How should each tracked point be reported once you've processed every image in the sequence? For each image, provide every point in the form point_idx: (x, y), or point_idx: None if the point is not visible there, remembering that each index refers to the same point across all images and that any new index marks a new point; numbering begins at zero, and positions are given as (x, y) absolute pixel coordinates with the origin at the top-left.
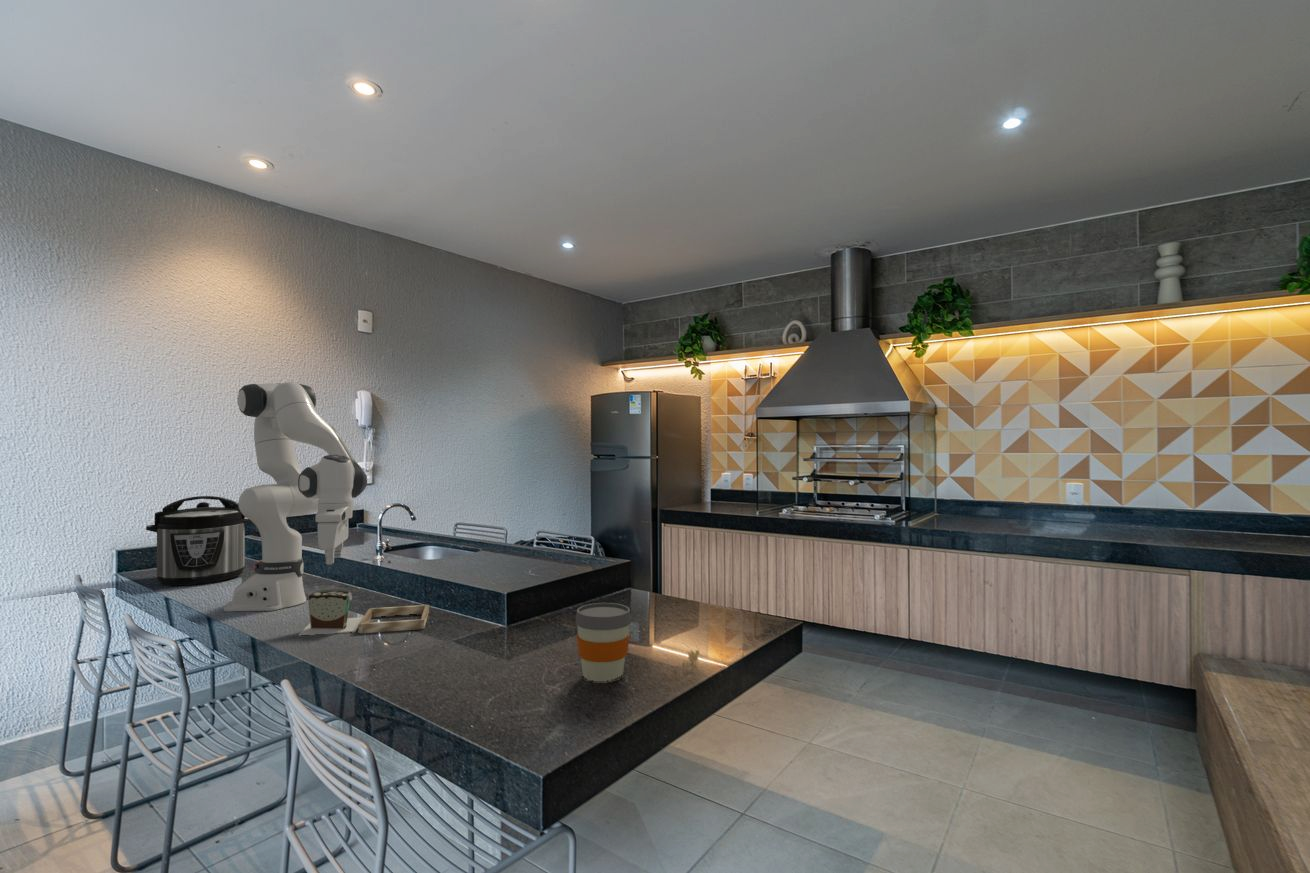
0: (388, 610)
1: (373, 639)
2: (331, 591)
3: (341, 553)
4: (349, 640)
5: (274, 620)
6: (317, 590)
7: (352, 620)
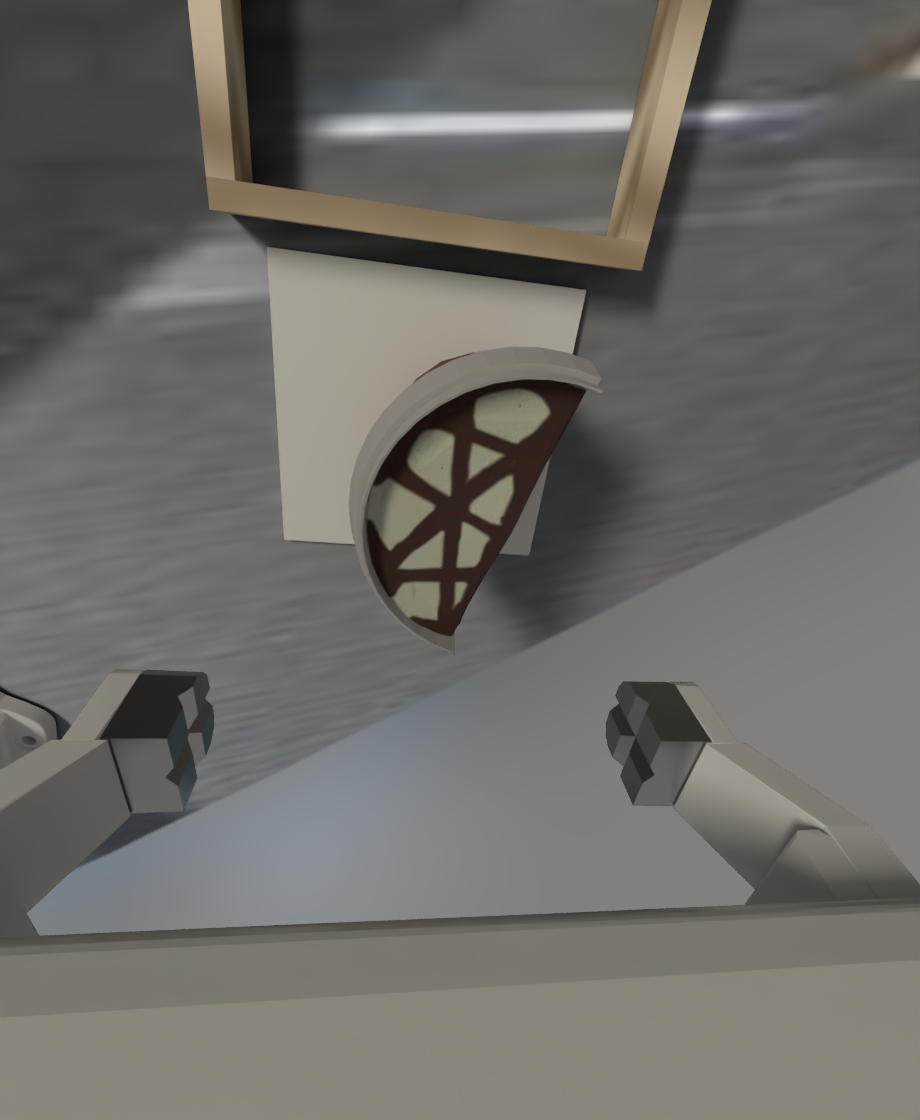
0: (229, 17)
1: (793, 159)
2: (367, 525)
3: (109, 701)
4: (725, 311)
5: (225, 678)
6: (393, 615)
7: (341, 326)
